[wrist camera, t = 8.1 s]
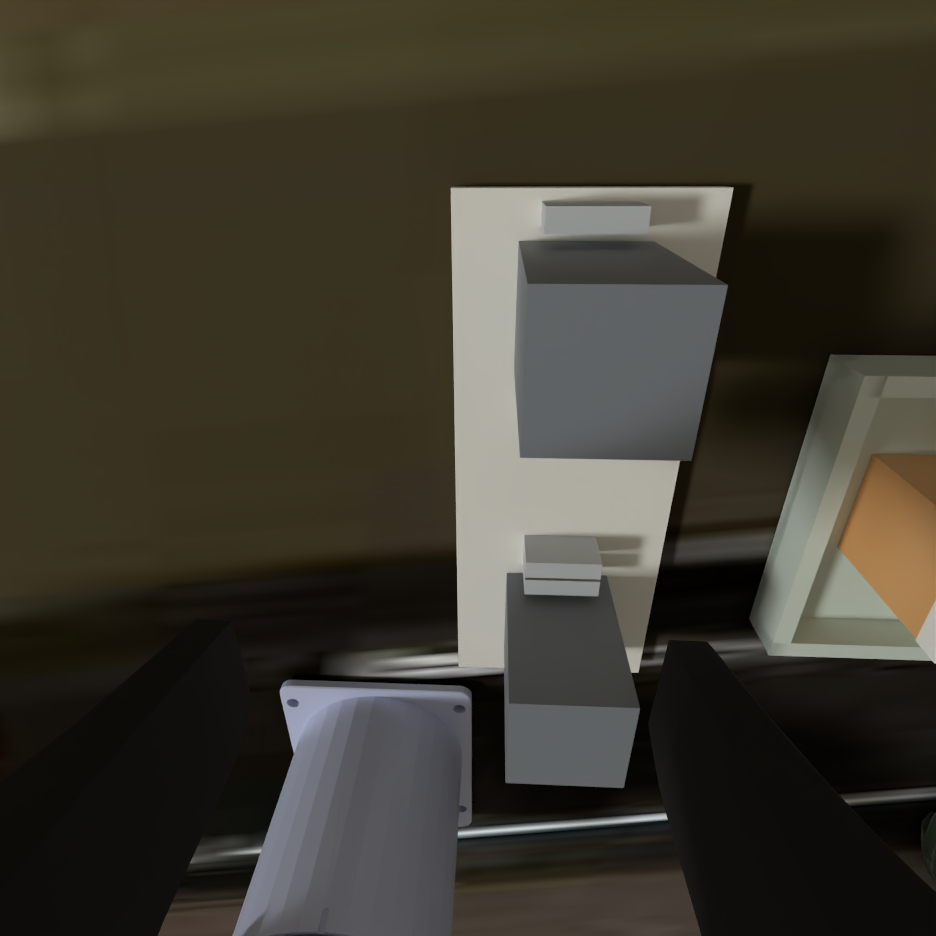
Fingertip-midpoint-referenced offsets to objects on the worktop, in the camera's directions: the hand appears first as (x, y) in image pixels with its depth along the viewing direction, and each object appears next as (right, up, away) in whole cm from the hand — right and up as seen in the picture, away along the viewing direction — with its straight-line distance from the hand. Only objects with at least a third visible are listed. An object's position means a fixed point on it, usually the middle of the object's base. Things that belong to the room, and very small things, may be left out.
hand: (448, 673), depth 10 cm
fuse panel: (+3, +3, +9) cm, 10 cm away
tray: (+14, +2, +9) cm, 17 cm away
